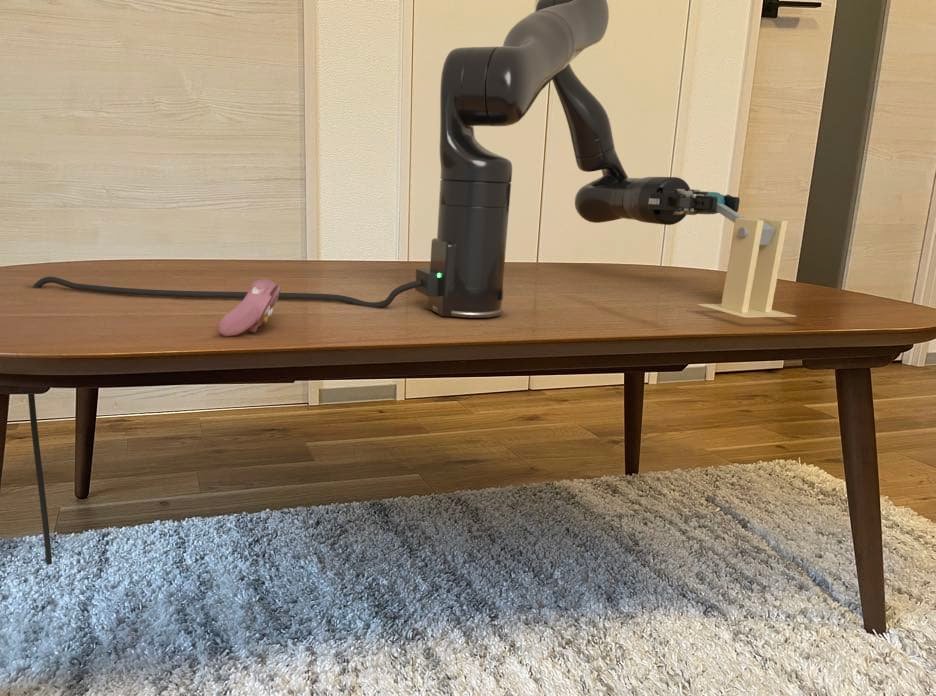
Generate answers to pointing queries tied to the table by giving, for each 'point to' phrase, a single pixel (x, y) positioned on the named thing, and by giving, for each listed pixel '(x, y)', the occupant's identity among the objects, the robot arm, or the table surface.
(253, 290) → the pink rounded piece
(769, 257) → the bracket
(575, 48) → the robot arm
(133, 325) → the table surface
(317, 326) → the table surface
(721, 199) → the lever
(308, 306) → the table surface
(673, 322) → the table surface
